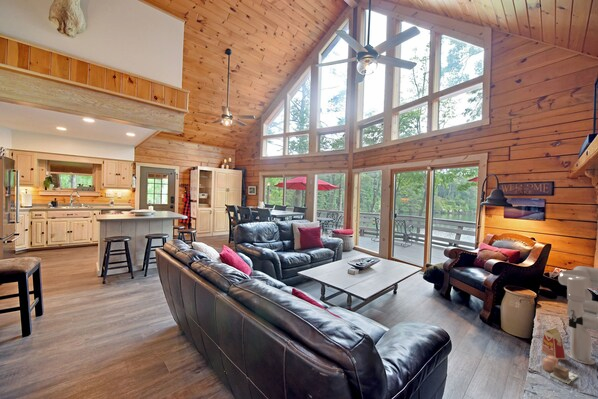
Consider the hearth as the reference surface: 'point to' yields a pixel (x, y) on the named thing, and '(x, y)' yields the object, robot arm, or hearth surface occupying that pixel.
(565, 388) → the hearth surface
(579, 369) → the hearth surface
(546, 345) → the milk carton
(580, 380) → the hearth surface
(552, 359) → the peach egg shape
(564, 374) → the brown cube
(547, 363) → the egg
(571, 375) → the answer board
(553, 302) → the hearth surface
